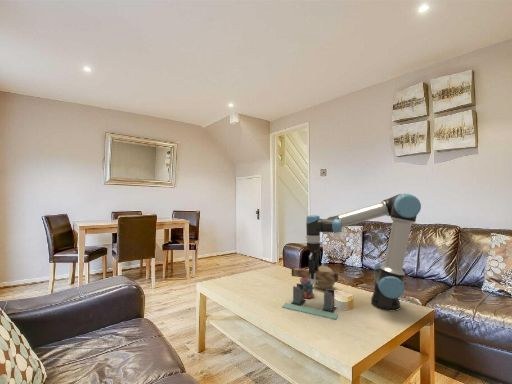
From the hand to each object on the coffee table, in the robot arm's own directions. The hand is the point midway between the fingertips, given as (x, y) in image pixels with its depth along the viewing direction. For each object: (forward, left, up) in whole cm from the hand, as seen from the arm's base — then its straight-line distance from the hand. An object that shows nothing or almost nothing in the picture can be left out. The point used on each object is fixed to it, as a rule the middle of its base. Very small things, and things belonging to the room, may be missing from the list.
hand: (314, 283), depth 151 cm
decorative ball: (+2, -31, -13) cm, 34 cm away
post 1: (+9, 0, -13) cm, 16 cm away
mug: (+7, -13, -13) cm, 20 cm away
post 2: (-9, 0, -13) cm, 16 cm away
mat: (0, +8, -13) cm, 15 cm away
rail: (0, 0, +3) cm, 3 cm away
